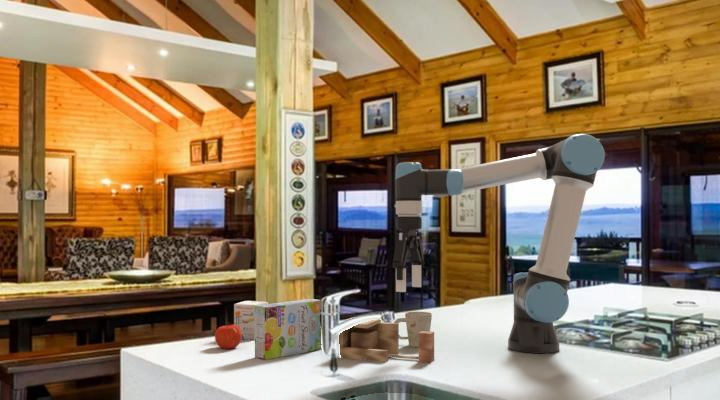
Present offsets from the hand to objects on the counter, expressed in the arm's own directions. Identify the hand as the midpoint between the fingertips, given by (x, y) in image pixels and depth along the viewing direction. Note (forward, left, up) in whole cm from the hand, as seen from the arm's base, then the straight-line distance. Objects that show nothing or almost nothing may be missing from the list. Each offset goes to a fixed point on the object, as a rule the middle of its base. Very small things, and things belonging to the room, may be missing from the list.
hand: (409, 289), depth 186 cm
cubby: (+10, +4, -19) cm, 22 cm away
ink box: (+58, -9, -19) cm, 62 cm away
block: (+3, +4, -19) cm, 20 cm away
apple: (+55, +9, -19) cm, 59 cm away
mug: (+4, -16, -19) cm, 25 cm away
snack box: (+34, +9, -20) cm, 40 cm away
